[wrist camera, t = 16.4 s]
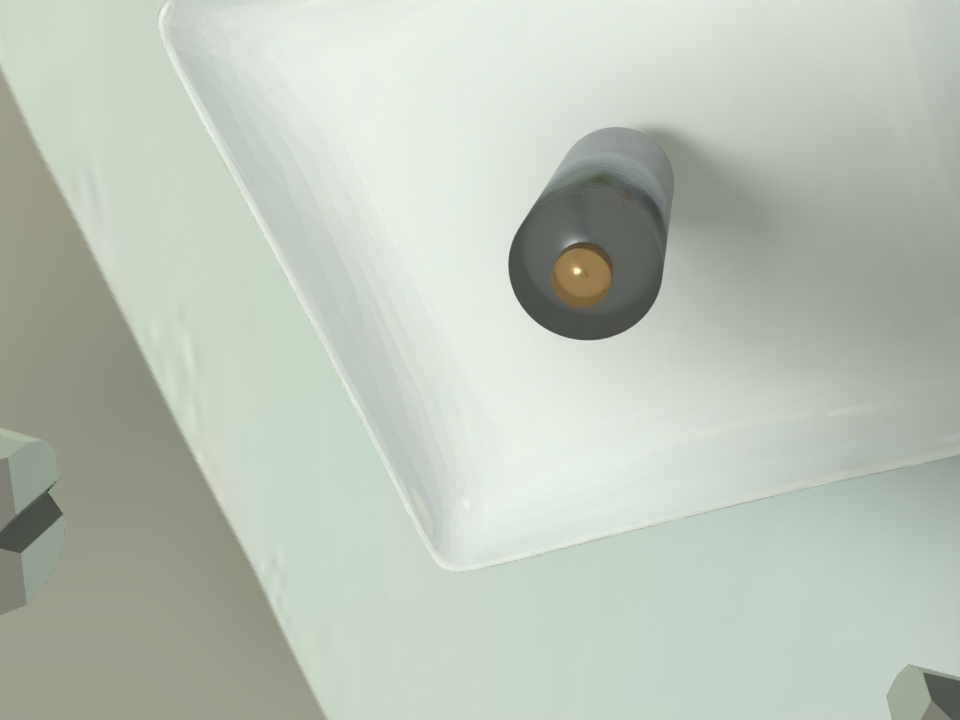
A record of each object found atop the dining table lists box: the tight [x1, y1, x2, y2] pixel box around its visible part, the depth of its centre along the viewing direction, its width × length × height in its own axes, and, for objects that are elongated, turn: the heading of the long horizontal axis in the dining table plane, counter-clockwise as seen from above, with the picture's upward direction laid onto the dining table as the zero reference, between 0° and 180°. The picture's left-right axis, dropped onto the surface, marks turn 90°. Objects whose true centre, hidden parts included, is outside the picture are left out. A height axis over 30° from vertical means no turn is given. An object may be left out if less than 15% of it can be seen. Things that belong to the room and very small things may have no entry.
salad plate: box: [158, 0, 960, 573], centre depth 26 cm, size 21×21×3 cm
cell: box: [508, 127, 674, 341], centre depth 21 cm, size 3×3×8 cm
